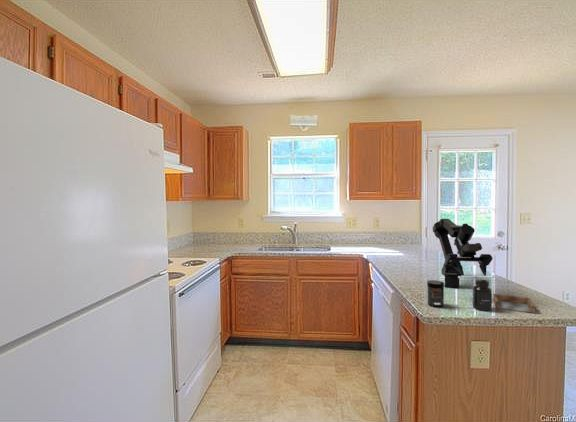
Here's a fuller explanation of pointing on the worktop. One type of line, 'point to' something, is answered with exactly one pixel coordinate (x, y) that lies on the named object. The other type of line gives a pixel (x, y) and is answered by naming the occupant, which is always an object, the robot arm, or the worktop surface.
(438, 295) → the supplement container
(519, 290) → the worktop surface
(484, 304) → the supplement bottle
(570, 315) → the worktop surface
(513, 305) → the bay
